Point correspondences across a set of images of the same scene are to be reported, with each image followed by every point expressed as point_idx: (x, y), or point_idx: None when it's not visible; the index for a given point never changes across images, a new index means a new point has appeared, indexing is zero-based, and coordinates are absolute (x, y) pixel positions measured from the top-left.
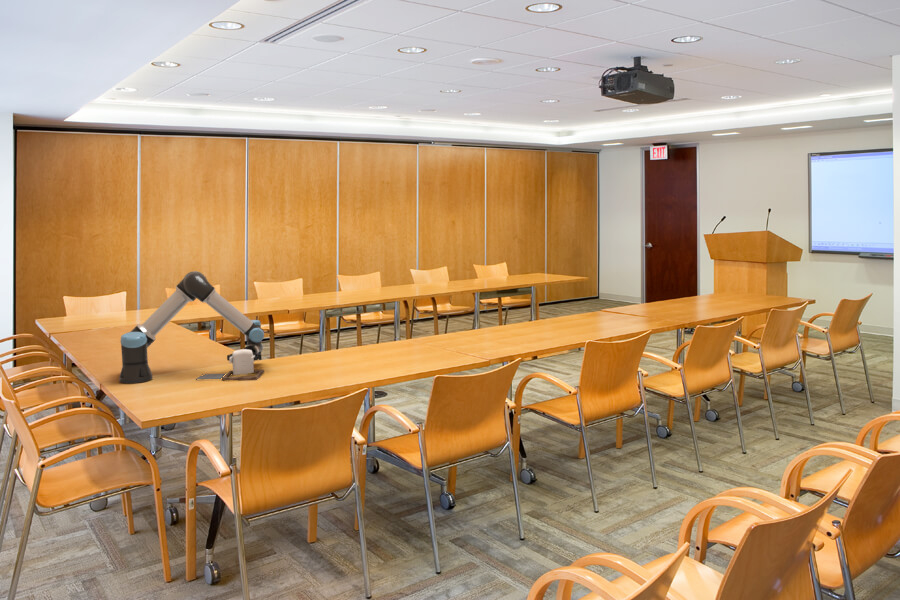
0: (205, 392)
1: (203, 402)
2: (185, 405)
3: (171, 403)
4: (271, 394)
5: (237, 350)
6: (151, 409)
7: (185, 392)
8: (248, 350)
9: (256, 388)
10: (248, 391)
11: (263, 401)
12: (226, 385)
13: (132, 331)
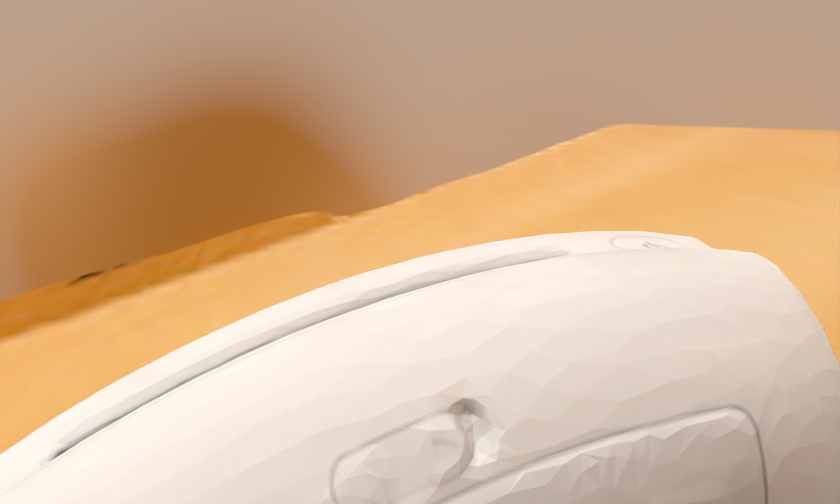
0: None
1: (517, 203)
2: (579, 178)
3: (672, 174)
4: (174, 309)
5: (584, 252)
6: (693, 143)
7: (789, 248)
8: (110, 391)
9: None
10: None
11: (234, 251)
12: None
13: None
